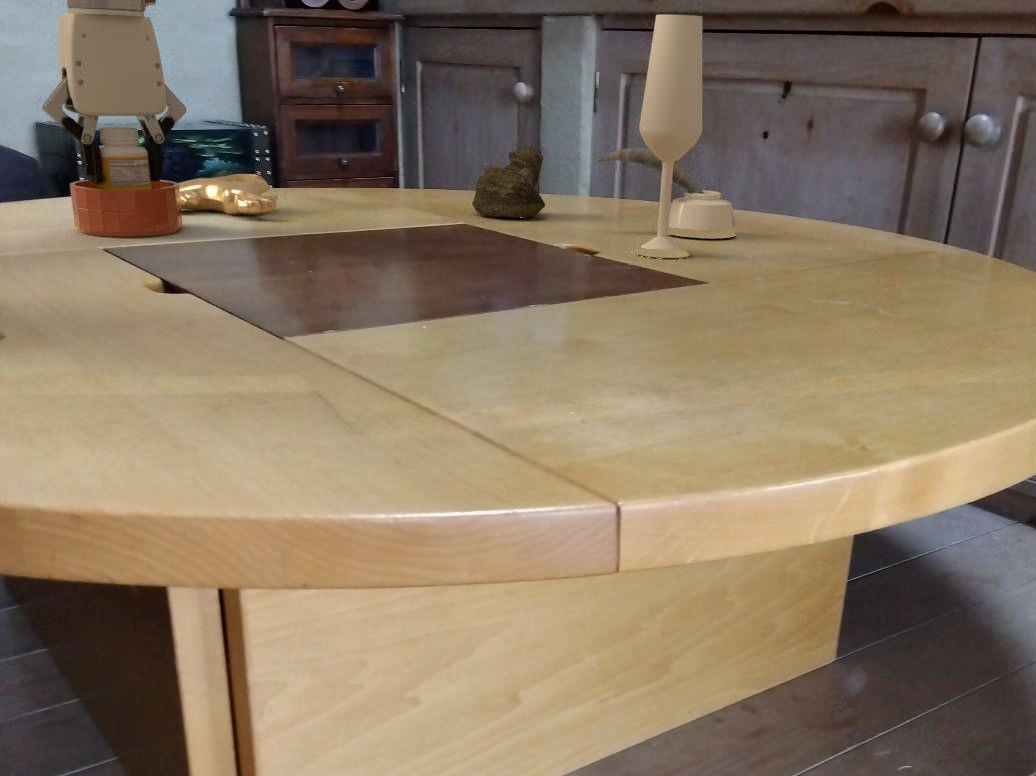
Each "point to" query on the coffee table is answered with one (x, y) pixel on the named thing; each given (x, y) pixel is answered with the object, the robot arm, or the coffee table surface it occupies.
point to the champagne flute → (672, 104)
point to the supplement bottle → (123, 159)
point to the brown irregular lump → (511, 187)
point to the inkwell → (697, 204)
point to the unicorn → (228, 194)
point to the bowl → (126, 209)
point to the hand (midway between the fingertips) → (124, 179)
